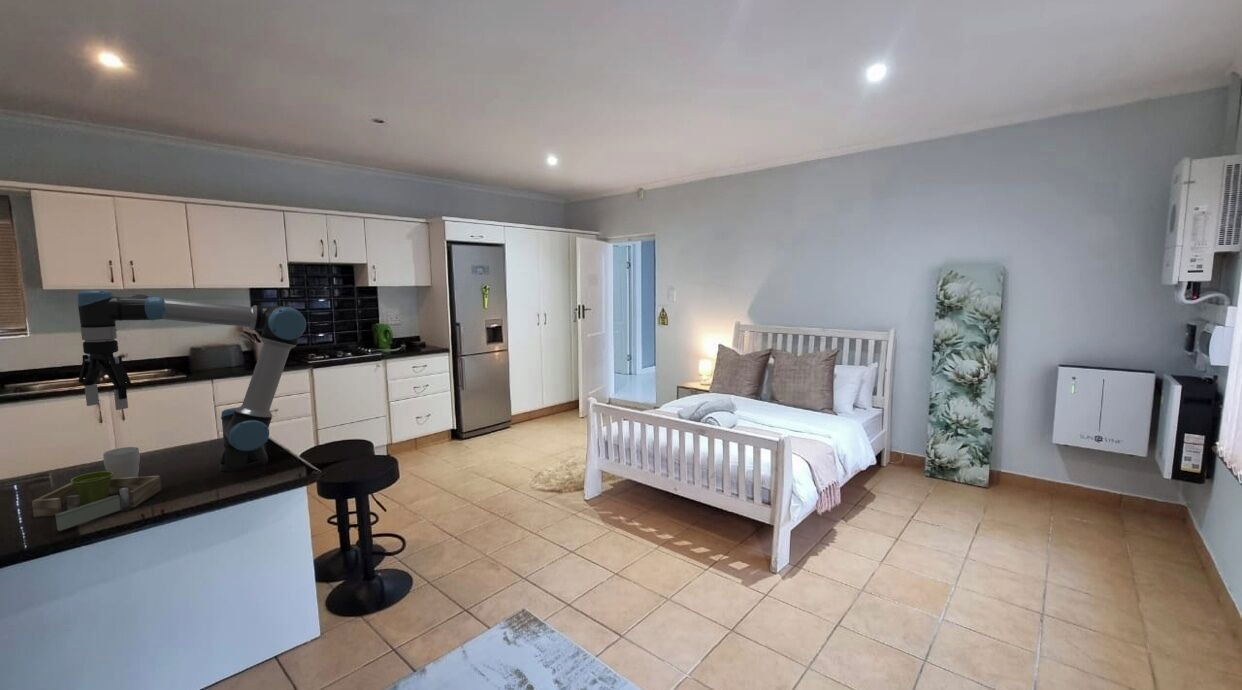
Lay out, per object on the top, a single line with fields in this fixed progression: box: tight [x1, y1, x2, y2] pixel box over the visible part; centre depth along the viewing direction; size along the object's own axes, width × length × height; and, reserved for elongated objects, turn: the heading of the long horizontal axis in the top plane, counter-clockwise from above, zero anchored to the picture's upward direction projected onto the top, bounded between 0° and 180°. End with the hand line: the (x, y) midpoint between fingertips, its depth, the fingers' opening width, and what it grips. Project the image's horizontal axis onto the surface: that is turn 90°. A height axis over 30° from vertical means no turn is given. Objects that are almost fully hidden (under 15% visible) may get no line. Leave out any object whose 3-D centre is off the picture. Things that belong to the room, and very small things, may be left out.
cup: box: [102, 446, 141, 478], centre depth 174 cm, size 9×9×12 cm
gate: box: [54, 494, 121, 532], centre depth 147 cm, size 14×1×5 cm, turn 164°
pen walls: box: [31, 475, 162, 518], centre depth 160 cm, size 24×16×5 cm
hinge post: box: [119, 487, 131, 512], centre depth 156 cm, size 2×2×7 cm
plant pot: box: [69, 470, 113, 506], centre depth 160 cm, size 9×9×9 cm
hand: (107, 407), depth 157 cm, fingers open, 13 cm apart
